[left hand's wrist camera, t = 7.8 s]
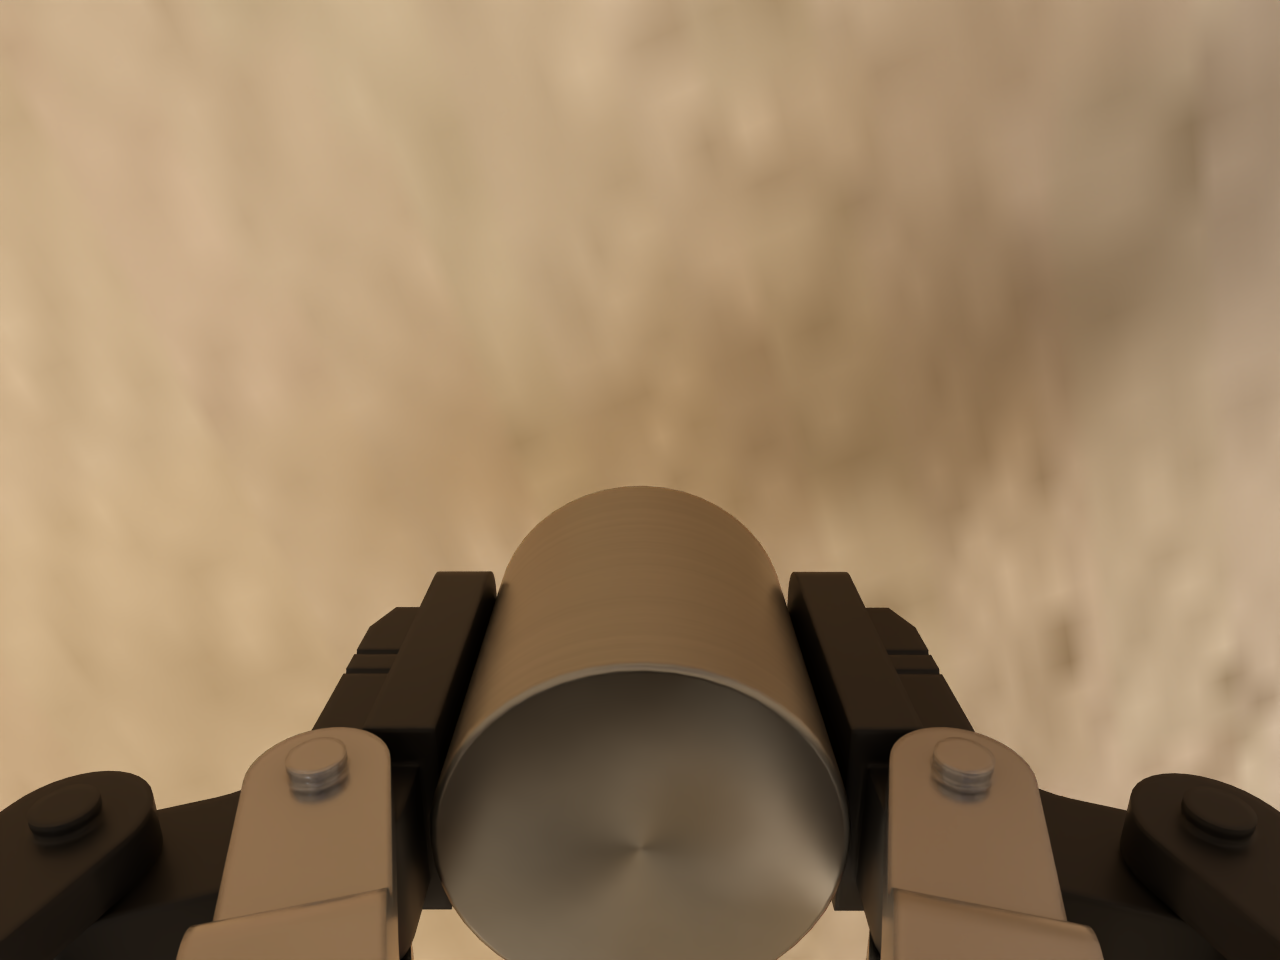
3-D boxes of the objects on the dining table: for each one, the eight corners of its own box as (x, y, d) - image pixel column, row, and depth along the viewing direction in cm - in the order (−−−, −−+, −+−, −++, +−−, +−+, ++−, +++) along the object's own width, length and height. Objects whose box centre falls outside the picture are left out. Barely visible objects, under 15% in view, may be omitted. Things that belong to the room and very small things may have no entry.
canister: (838, 573, 12) (940, 791, 8) (684, 776, 14) (704, 1055, 9) (589, 429, 12) (562, 586, 7) (448, 657, 13) (356, 903, 9)
